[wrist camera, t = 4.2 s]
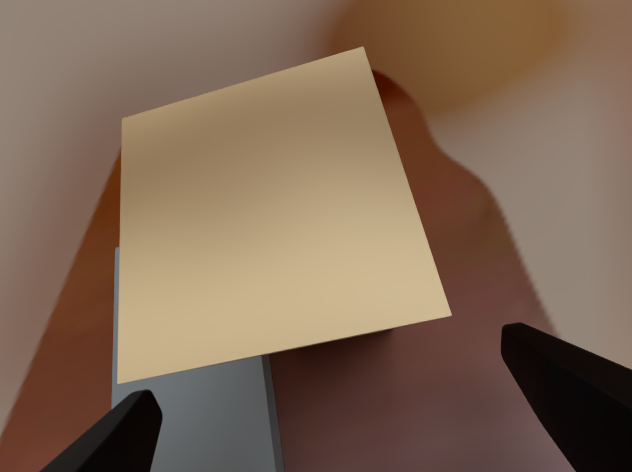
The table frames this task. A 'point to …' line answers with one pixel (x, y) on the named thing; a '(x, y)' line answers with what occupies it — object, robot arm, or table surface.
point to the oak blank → (267, 223)
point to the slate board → (210, 413)
